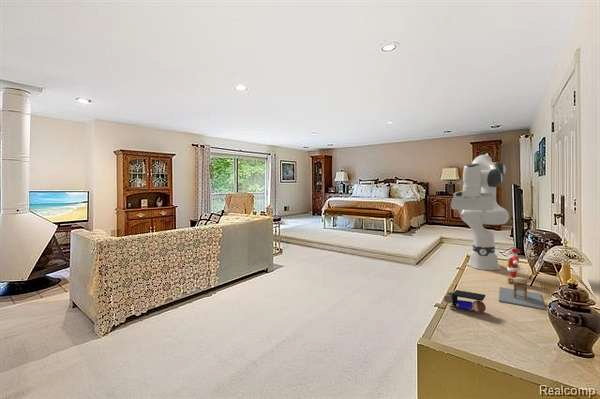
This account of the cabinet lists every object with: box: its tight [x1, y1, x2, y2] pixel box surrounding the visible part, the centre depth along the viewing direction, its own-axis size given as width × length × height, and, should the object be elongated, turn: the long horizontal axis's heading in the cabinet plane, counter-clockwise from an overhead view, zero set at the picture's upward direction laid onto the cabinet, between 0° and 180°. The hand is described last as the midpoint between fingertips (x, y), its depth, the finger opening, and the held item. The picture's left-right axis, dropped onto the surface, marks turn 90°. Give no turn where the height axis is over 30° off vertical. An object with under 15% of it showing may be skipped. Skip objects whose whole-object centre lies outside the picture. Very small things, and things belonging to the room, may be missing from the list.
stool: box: [513, 276, 529, 300], centre depth 132 cm, size 5×5×8 cm
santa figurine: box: [506, 247, 521, 285], centre depth 152 cm, size 25×6×19 cm, turn 144°
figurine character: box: [443, 289, 487, 314], centre depth 122 cm, size 7×8×15 cm
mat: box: [498, 286, 546, 311], centre depth 132 cm, size 20×16×1 cm
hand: (471, 218), depth 156 cm, fingers open, 8 cm apart
